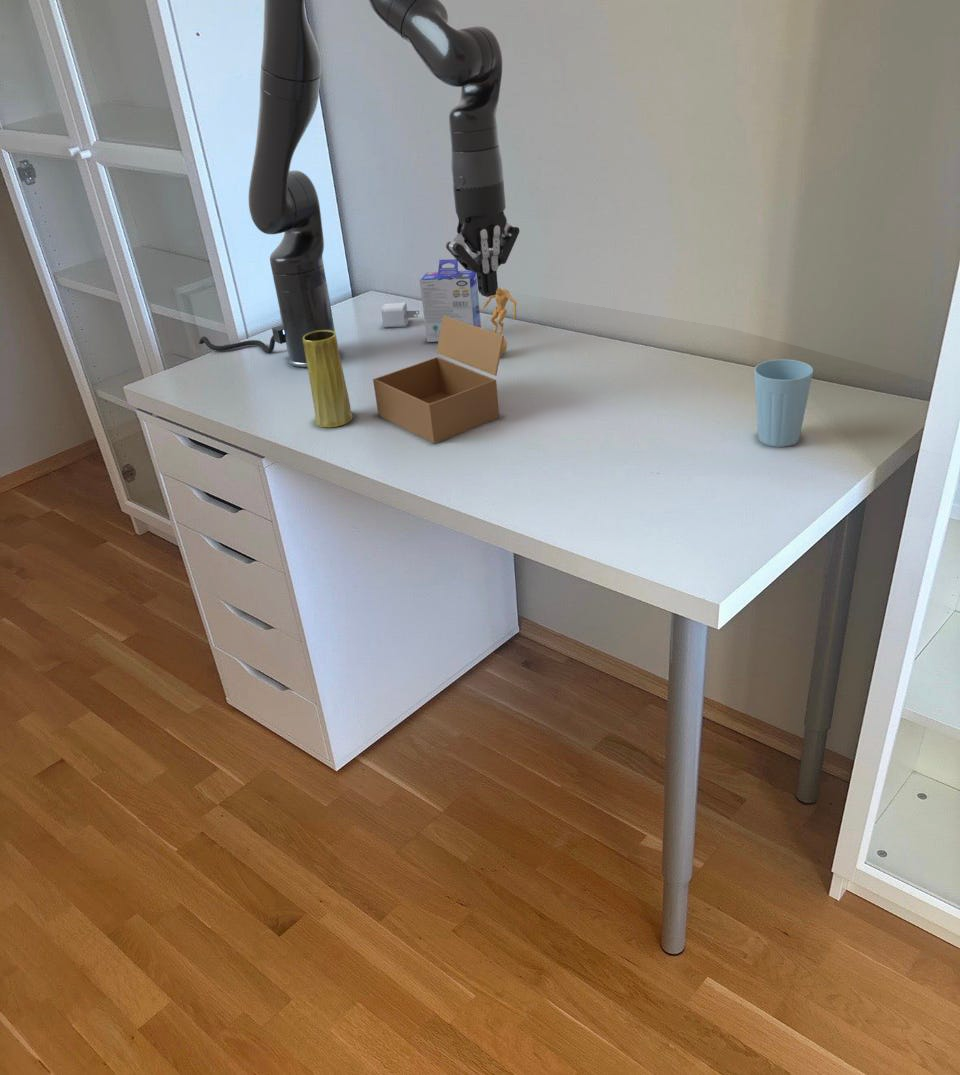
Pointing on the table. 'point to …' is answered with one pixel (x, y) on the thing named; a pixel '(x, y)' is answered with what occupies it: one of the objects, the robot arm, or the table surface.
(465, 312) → the ink cartridge box
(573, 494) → the table surface
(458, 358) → the flap
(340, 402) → the vase
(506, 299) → the figurine
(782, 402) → the cup
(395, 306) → the usb wall charger
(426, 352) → the table surface
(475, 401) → the carton
